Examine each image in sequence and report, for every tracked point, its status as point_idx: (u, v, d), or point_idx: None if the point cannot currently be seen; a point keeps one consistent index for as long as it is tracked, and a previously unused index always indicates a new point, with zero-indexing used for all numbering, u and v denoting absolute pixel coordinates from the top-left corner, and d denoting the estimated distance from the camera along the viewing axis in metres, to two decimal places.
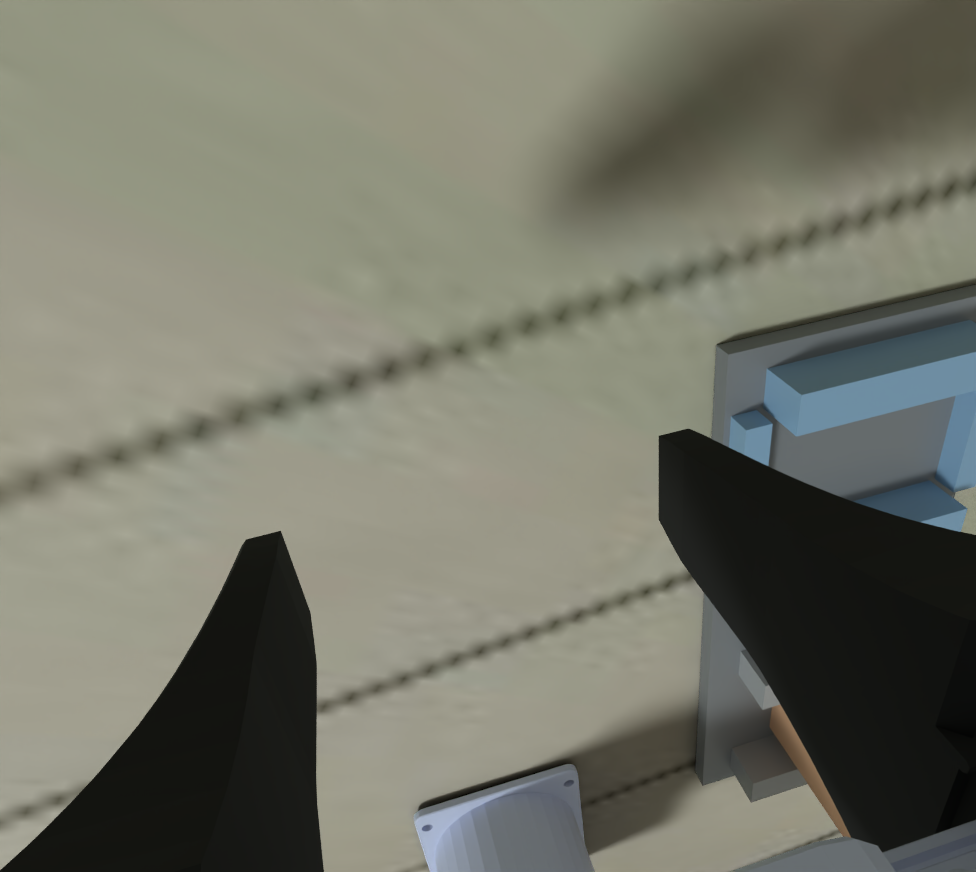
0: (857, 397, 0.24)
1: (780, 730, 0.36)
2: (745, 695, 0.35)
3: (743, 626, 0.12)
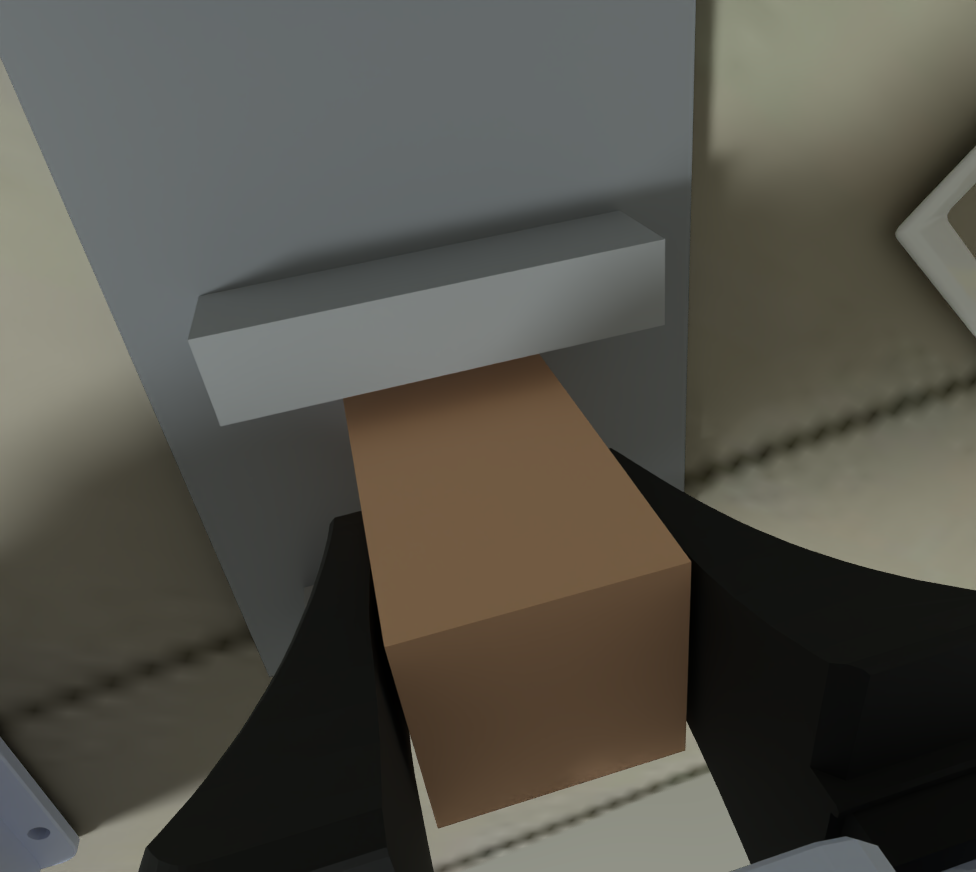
0: None
1: None
2: (277, 442, 0.15)
3: None
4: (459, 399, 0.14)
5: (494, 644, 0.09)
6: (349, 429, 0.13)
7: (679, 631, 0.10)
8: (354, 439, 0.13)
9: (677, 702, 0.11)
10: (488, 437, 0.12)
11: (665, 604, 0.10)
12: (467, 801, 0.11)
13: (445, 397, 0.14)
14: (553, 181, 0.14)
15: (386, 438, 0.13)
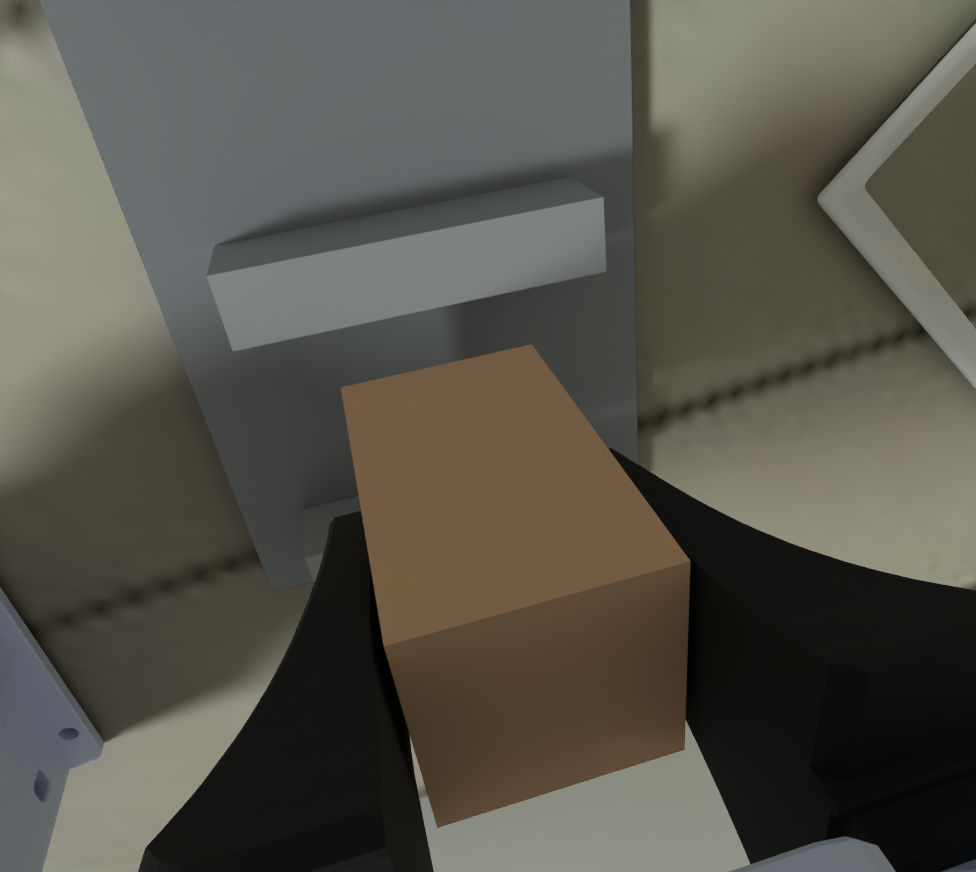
0: None
1: None
2: (279, 376, 0.17)
3: None
4: (459, 398, 0.14)
5: (494, 642, 0.09)
6: (349, 429, 0.13)
7: (678, 631, 0.10)
8: (354, 439, 0.13)
9: (676, 701, 0.11)
10: (488, 436, 0.12)
11: (664, 603, 0.10)
12: (467, 800, 0.11)
13: (444, 397, 0.14)
14: (513, 150, 0.16)
15: (386, 438, 0.13)
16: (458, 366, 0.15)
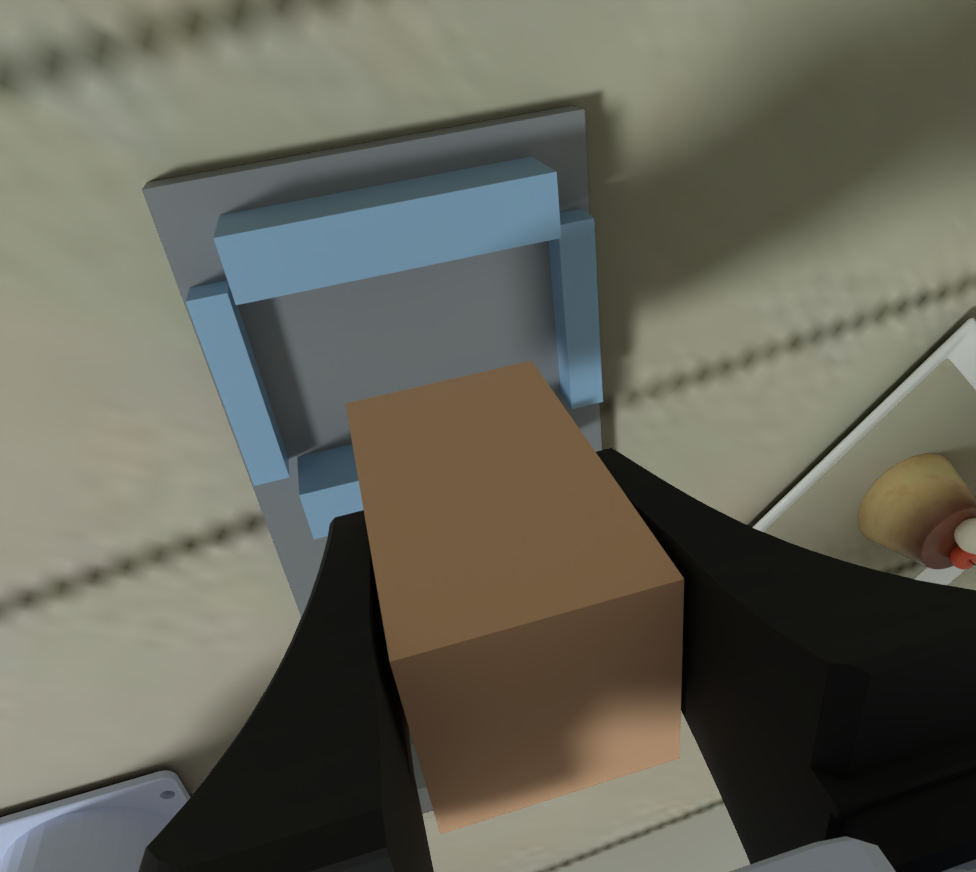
0: (315, 247, 0.17)
1: None
2: None
3: None
4: (460, 414, 0.14)
5: (495, 657, 0.10)
6: (354, 445, 0.14)
7: (673, 645, 0.10)
8: (359, 455, 0.13)
9: (671, 712, 0.11)
10: (489, 453, 0.13)
11: (659, 619, 0.10)
12: (469, 807, 0.11)
13: (447, 413, 0.14)
14: None
15: (390, 455, 0.13)
16: (459, 382, 0.15)
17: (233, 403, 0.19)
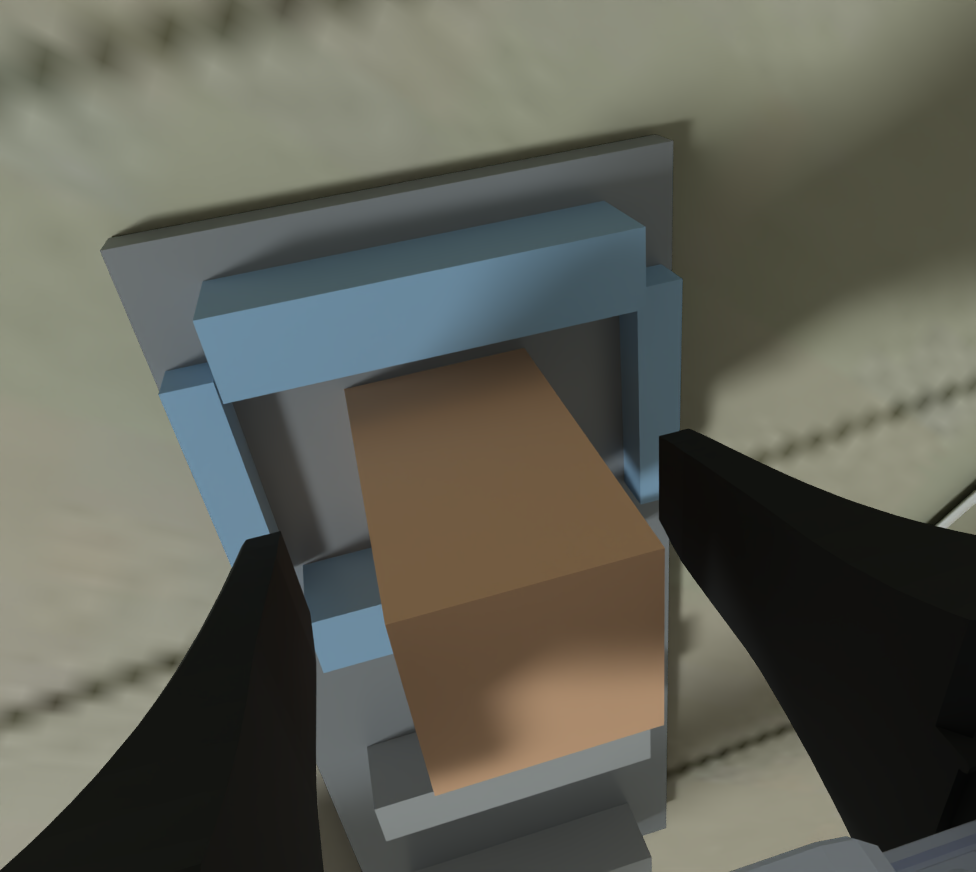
0: (329, 328, 0.13)
1: None
2: None
3: (743, 626, 0.12)
4: (455, 399, 0.15)
5: (485, 622, 0.10)
6: (352, 427, 0.14)
7: (655, 612, 0.11)
8: (356, 437, 0.14)
9: (655, 679, 0.12)
10: (481, 434, 0.13)
11: (641, 587, 0.11)
12: (461, 770, 0.12)
13: (442, 397, 0.15)
14: None
15: (387, 437, 0.14)
16: (454, 369, 0.16)
17: (222, 513, 0.15)
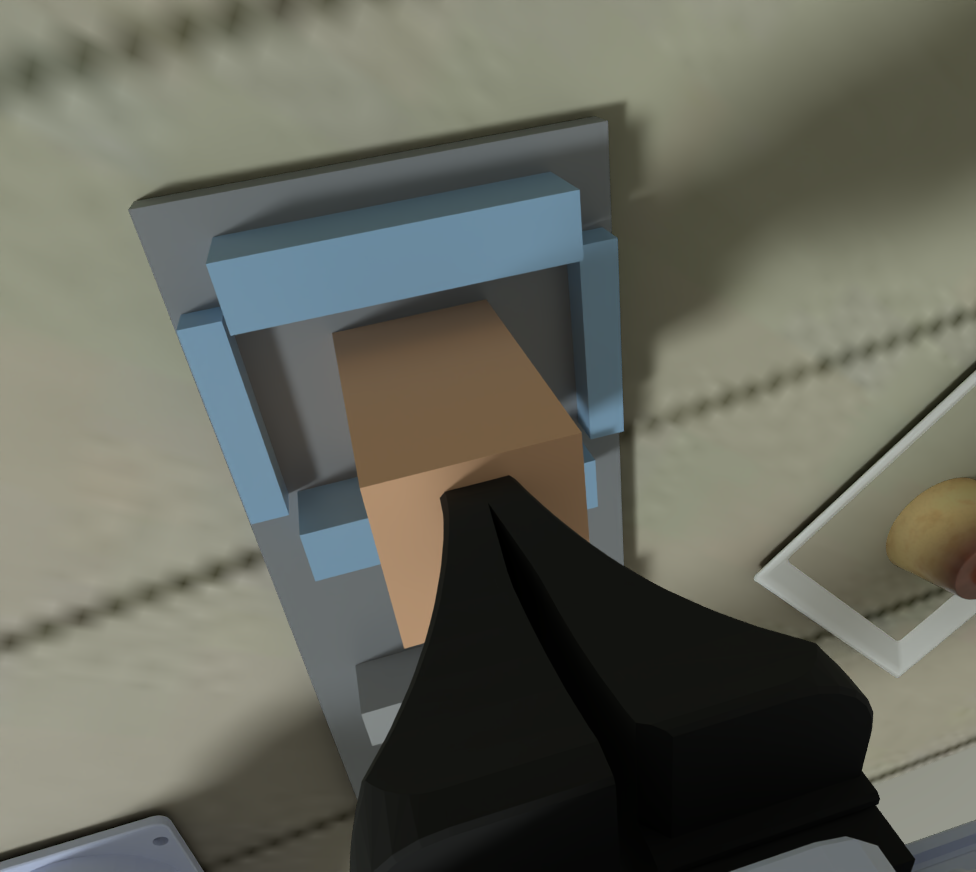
0: (317, 272, 0.15)
1: None
2: None
3: None
4: (424, 337, 0.17)
5: (439, 491, 0.13)
6: (337, 360, 0.17)
7: (578, 490, 0.14)
8: (341, 366, 0.17)
9: None
10: (445, 362, 0.16)
11: (565, 466, 0.13)
12: (426, 625, 0.14)
13: (414, 337, 0.17)
14: None
15: (366, 365, 0.16)
16: (426, 316, 0.18)
17: (228, 438, 0.18)
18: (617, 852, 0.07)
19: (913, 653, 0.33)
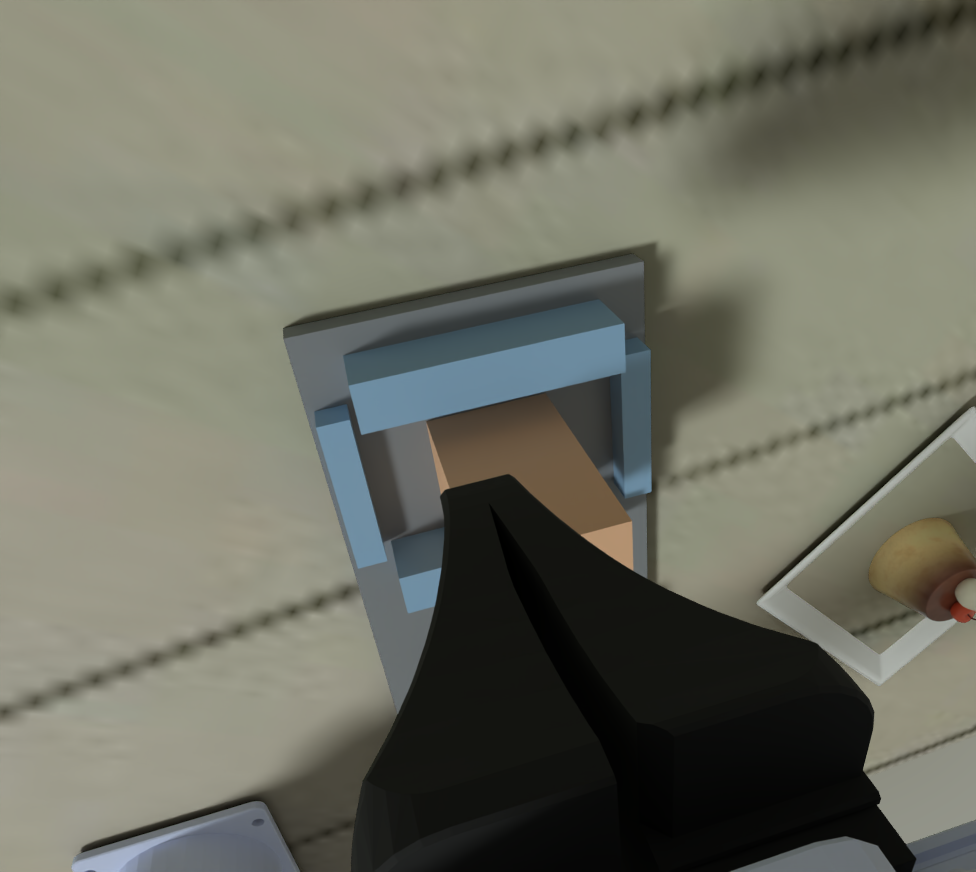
0: (428, 388, 0.21)
1: None
2: None
3: None
4: (502, 429, 0.22)
5: None
6: (436, 448, 0.22)
7: (627, 559, 0.19)
8: (440, 454, 0.22)
9: None
10: (521, 453, 0.21)
11: (619, 544, 0.18)
12: None
13: (493, 428, 0.23)
14: None
15: (460, 454, 0.22)
16: (499, 408, 0.24)
17: (347, 504, 0.23)
18: (618, 852, 0.07)
19: (893, 664, 0.38)
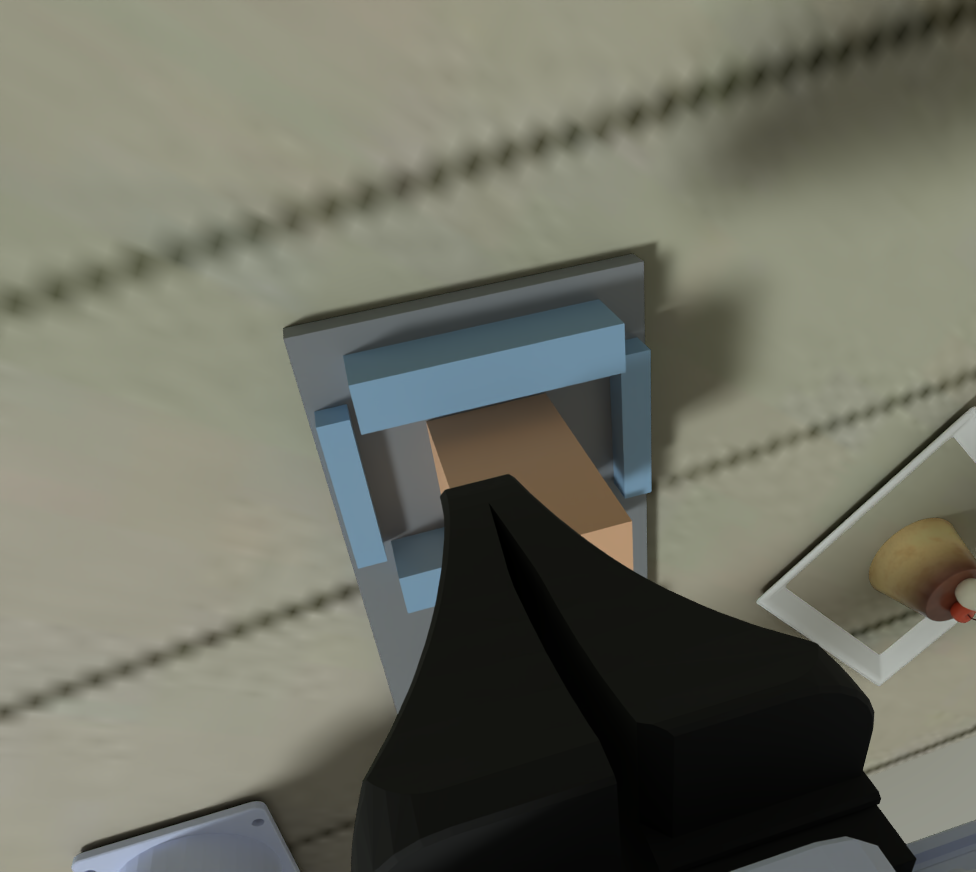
0: (428, 388, 0.21)
1: None
2: None
3: None
4: (502, 429, 0.22)
5: None
6: (436, 448, 0.22)
7: (627, 559, 0.19)
8: (440, 454, 0.22)
9: None
10: (521, 453, 0.21)
11: (619, 544, 0.18)
12: None
13: (493, 428, 0.23)
14: None
15: (460, 454, 0.22)
16: (499, 408, 0.24)
17: (347, 504, 0.23)
18: (618, 852, 0.07)
19: (892, 665, 0.38)
